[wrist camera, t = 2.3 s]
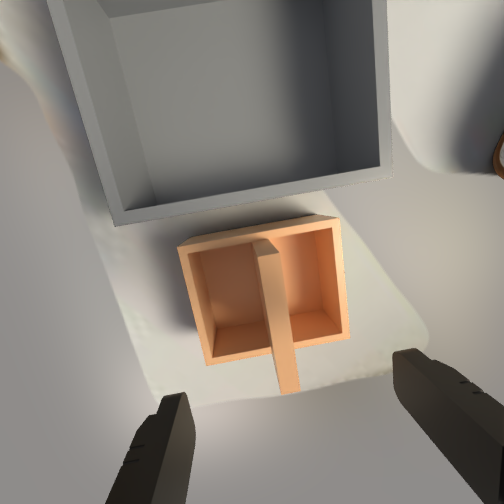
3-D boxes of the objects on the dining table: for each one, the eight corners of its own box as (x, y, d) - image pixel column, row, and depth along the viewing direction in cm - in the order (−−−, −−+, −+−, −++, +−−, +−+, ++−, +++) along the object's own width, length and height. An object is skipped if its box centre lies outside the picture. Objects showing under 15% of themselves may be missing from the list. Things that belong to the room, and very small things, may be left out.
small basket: (316, 214, 22) (377, 223, 12) (327, 310, 24) (386, 382, 14) (190, 237, 22) (153, 264, 12) (212, 332, 24) (196, 420, 14)
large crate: (326, -20, 18) (380, -155, 11) (343, 185, 21) (393, 177, 15) (101, 15, 18) (15, -102, 11) (154, 218, 21) (114, 226, 14)
